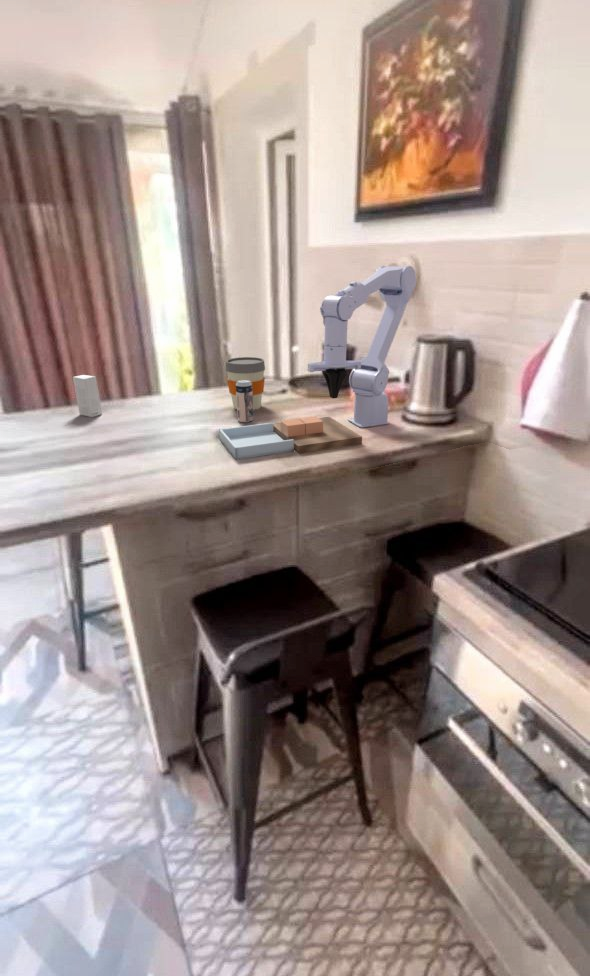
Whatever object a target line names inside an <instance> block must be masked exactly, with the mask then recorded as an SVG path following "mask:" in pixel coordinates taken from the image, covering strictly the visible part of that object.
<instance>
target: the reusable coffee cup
mask: <svg viewBox="0 0 590 976" xmlns="http://www.w3.org/2000/svg"><path fill="white" fill-rule="evenodd" d="M265 370H266V365H265V360H264V358H261V357H254V356H253V357H252V356H251V357H250V356H245V357H244V356H243V357H241V356H240V357H232V358H229V359H226V360H225V371H226V373H227V379H226V380H227V381H226V382H227V386H228V392H229V394H231V395H230V396H231V401H232V406H233V409H234V410H236V409H237V399H236V383H237V381H238V380H250V381H251V383H252V391H253V411H256V410H259V409H260V408H261V407H262V400H263V399H262V398H263V393H264V389H265V388H264V387H265ZM255 409H256V410H255Z"/></svg>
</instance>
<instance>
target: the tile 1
mask: <svg viewBox="0 0 590 976" xmlns="http://www.w3.org/2000/svg"><path fill="white" fill-rule="evenodd" d="M280 423H281V432H282V433H283V434H285V435H286V436H287V437H291V436H299V435H305V423H304V422H302V421H301V420H299V418H292V419H285V420H284V419H283V420H280Z"/></svg>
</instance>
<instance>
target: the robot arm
mask: <svg viewBox="0 0 590 976" xmlns="http://www.w3.org/2000/svg"><path fill="white" fill-rule="evenodd" d="M416 276H417V274H416V271H415V268H414V267H413V266H411V265H407V266H397V265H396V266H394V265H393V266H390V265H389V266H387V265H382V266H380V267H379V268H376V269H375V272H374V273H373V274H372V275H371V276H369V277H368V278H366V279H365V280H364V281H363V282H360V281H359V282H358V281H351V282H349V285H348V286H347V287H345V288H344V289H340V290H338V292H337V293H336V294H335V295H334V294H333V295H332V294H330V295H327V296H326V297H325V298H323V300H322V302H321V305H320V306H319V310H320V311H319V312H320V315H321V317H322V324H323V326H324V347H323V361H318V362H309V363H307V372H309V373H315V372H321V373H322V375H323V377H324V380H325V381H326V385H327V389H328V394H329V395H328V396H329V397H330V398H331V399H338V396H339V392H340V391H341V390H340V389H341V388H342V387H341V386H342V384H343V382H344V381H345V379H346V378H347V375H348V371H347V370H351V372H350V374H349V378H348V383H349V387H350V388H351V389H352V393H354V402H353V403H354V404H353V417H352V418H348V419H347V421H348V422H350V423H352V424H353V425H355V426H357V427H359V428H367V427H368V428H369V427H374V426H375V427H376V426H383V425H389V424H390V422H389V421H388V419H389V418H388V415H389V396H388V394H387V393H386V392H385V390H386V388H387V385H388V377H389V374H390V369H389V368H388V367H387V365H386V364H385V362H386V359H387V358H388V357H387V356H388V354H389V352H390V349H391V347H392V345H393V342H394V339H395V336H396V334H397V331H398V329H399V326H400V324H401V320H402V318H403V315H404V313H405V311H406V308H407V305H408V303H409V302H410V300H411V298H412V295H413V293H414V290H415V288H416V286H417V278H416ZM377 291H378V292H379V294H380V297H381V300H382V301H383V302H384V303H385V304H386V305H385V309H384V311H383V314H382V316H381V319H380V320H379V324H378V326H377V329H376V331H375V334H374V336H373V339H372V342H371V345H370V346H369V349H368V352H367V354H366V356H365V357H363V358H362V359H360V360H358V359H357V360H347V343H348V342H347V341H348V323H349V322H348V320H350V319H351V318H352V316H353V314H354V312H355V311H356V309H358V308H359V307H361V306H363V305H364V304H365V303H367V302H368V299H369V296H370V295H372V294H374V293H375V292H377Z"/></svg>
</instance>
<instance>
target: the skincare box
mask: <svg viewBox="0 0 590 976" xmlns="http://www.w3.org/2000/svg"><path fill="white" fill-rule="evenodd" d="M72 380H73V386H74V390H75V396H76V402H77V403H76V404H77V408H78V412H79V415H80V416H85V417H89V418H93V417H94V418H95V417H97V416H101V415H103V411H102V410H103V409H102V405H101V399H100V393H99V389H98V388H99V387H98V381H97V377H96V376H95V375H88V374H87V375H86V374H81V375H76V376H73V377H72Z"/></svg>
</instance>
